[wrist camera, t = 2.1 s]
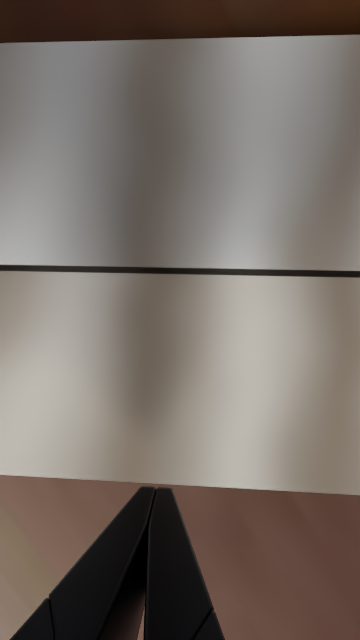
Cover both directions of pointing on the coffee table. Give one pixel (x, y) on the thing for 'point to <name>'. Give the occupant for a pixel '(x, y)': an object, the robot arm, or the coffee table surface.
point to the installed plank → (181, 156)
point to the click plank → (181, 379)
